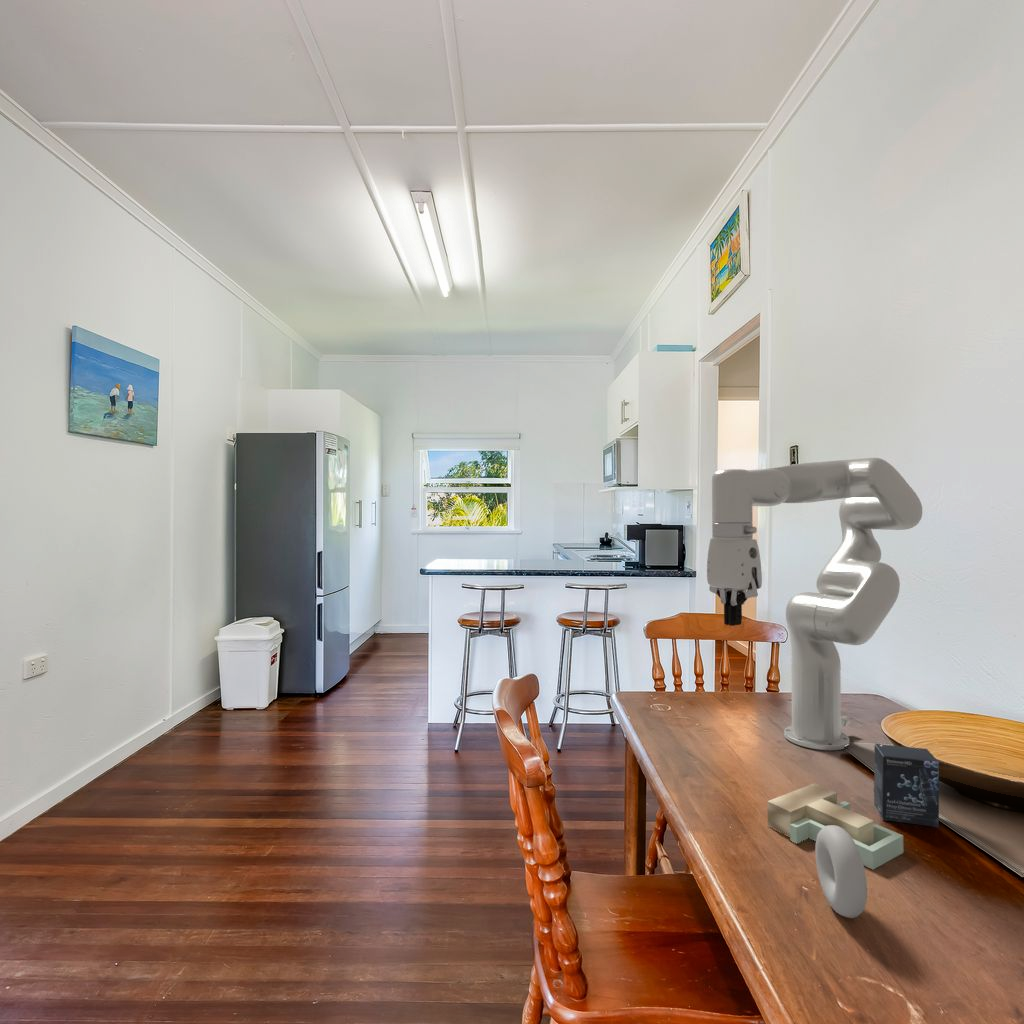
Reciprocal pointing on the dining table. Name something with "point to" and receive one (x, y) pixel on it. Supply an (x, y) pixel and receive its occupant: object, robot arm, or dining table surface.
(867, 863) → the t dock
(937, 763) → the box
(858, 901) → the donut
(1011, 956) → the dining table surface
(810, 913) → the dining table surface
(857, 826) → the t block
